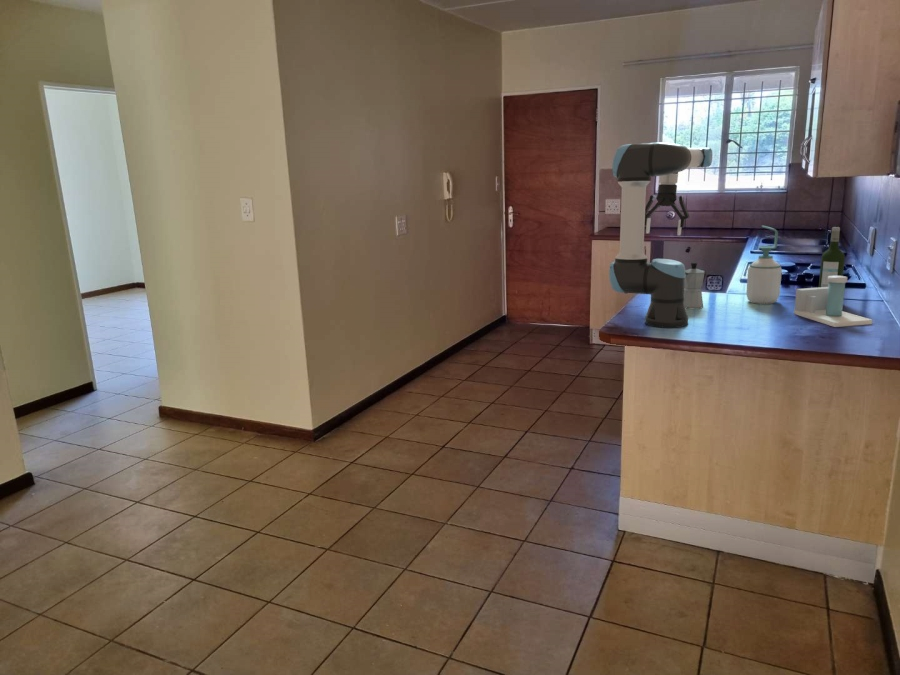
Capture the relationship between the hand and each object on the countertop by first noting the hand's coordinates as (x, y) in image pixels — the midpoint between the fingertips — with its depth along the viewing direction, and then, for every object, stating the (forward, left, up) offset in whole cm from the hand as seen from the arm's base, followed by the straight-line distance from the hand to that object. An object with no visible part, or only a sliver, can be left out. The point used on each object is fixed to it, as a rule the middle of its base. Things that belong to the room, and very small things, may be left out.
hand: (663, 234), depth 281 cm
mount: (-34, -62, -27) cm, 76 cm away
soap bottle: (-7, -40, -27) cm, 49 cm away
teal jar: (-34, -62, -25) cm, 76 cm away
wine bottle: (-5, -64, -27) cm, 70 cm away
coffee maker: (-19, -14, -27) cm, 37 cm away
